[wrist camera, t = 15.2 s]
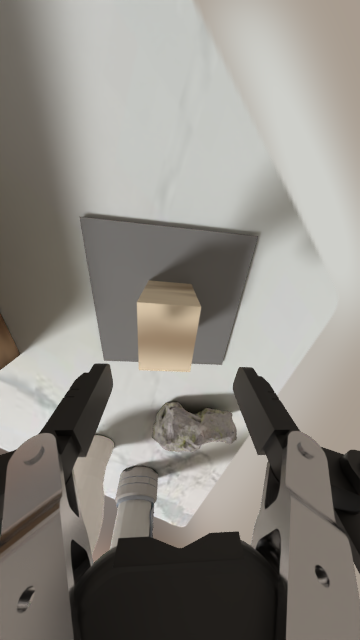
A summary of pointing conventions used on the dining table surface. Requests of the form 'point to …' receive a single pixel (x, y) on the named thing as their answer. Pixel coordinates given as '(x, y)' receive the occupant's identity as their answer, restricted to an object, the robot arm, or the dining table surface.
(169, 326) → the block
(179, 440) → the rock
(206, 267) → the mat
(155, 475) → the canister
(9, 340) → the access box
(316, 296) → the dining table surface
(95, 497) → the cup
